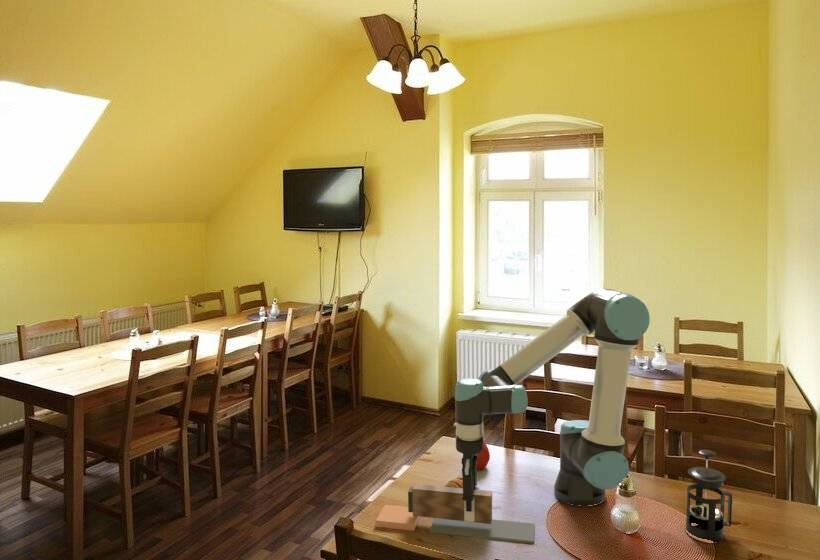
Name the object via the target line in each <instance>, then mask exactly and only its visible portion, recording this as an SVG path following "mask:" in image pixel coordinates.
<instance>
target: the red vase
mask: <svg viewBox="0 0 820 560" xmlns="http://www.w3.org/2000/svg"><path fill="white" fill-rule="evenodd" d="M487 445H488V444H487V443H486V442H485V440H483V451H482V452H480V453H478V454H477V455H478V459H477V471H482V470H484V469H486V467H487V465H488V463H489V462H490V458H491V457H490V455H491V453H490V450H489V447H488V446H487Z"/></svg>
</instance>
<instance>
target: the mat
mask: <svg viewBox="0 0 820 560" xmlns="http://www.w3.org/2000/svg"><path fill="white" fill-rule="evenodd" d="M535 525H536V524H535V523H532V522H524V521H512V520H511V521H510V520H503V519H493V518H492V522H491V524H485V523H476V522H467V521H457V520H448V519H439V518H433V521H432V523H431V526H430V529H429V533H433V534H435V533H436V534H441V535H442V534H444V535H450V536H451V535H452V536H461V537H469V538H470V537H472V538H479V539H489V540H491V539H492V540H499V541H509V542H517V543H527V544H534V541H535Z"/></svg>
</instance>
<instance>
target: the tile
mask: <svg viewBox="0 0 820 560" xmlns="http://www.w3.org/2000/svg"><path fill="white" fill-rule="evenodd" d="M378 514H379V515H378V516H377V518H376V520H375V527H376V526H377V528H383V527H385V529H394V530H402V531H403V530H405V531H413V532H414V531H415V530H416V528H417V526H418V523H419V520H420V518H421V517H420V516H413V512H408V506H402V505H390V504H384V506H382V508H381V510H380V512H379V513H378Z"/></svg>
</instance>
